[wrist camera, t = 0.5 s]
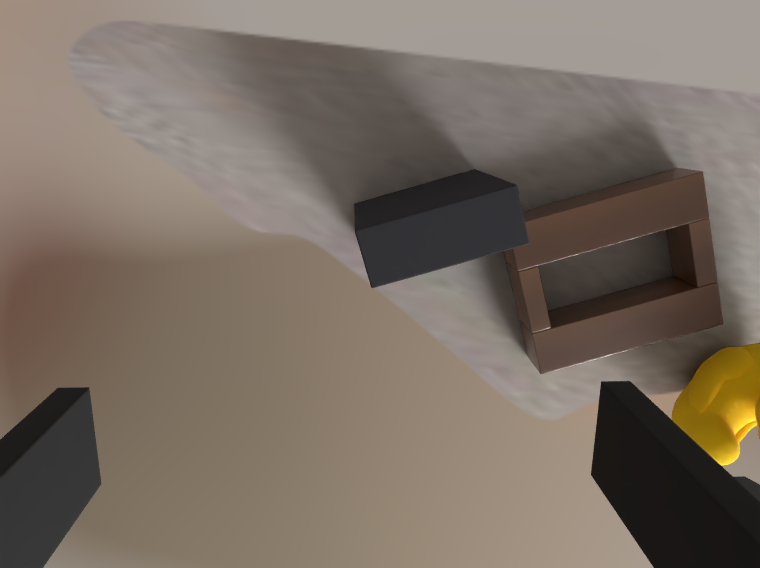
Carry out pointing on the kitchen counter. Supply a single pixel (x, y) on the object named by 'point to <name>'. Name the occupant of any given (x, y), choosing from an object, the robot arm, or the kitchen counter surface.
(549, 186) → the kitchen counter surface
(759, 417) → the duckling
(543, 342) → the seat base
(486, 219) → the dark grey rectangular block
